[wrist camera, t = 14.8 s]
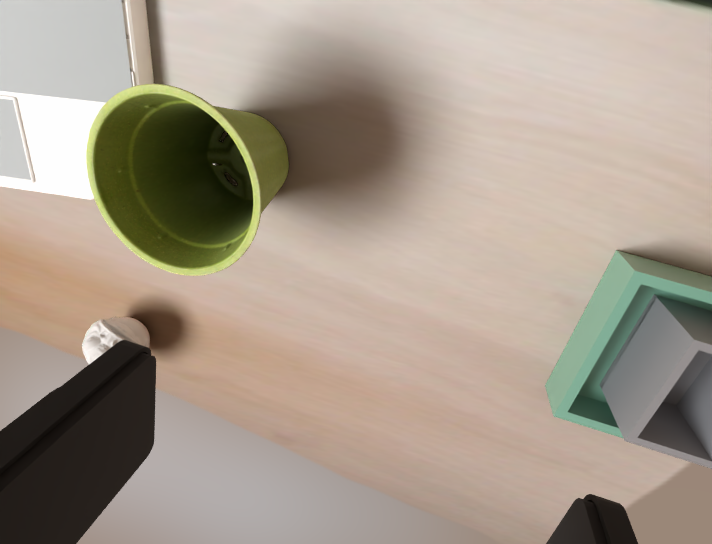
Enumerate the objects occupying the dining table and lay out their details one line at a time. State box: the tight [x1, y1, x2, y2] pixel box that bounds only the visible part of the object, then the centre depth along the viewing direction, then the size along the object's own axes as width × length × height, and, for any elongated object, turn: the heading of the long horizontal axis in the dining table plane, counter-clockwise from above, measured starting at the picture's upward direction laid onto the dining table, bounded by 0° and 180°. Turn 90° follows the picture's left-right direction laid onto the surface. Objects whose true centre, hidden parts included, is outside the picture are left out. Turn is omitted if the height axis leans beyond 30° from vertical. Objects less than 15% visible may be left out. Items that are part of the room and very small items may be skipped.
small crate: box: [599, 294, 712, 469], centre depth 32 cm, size 9×6×6 cm
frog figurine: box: [82, 317, 150, 364], centre depth 44 cm, size 6×7×7 cm
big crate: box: [545, 250, 712, 438], centre depth 35 cm, size 14×14×4 cm
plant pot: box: [86, 84, 289, 276], centre depth 32 cm, size 12×12×11 cm
